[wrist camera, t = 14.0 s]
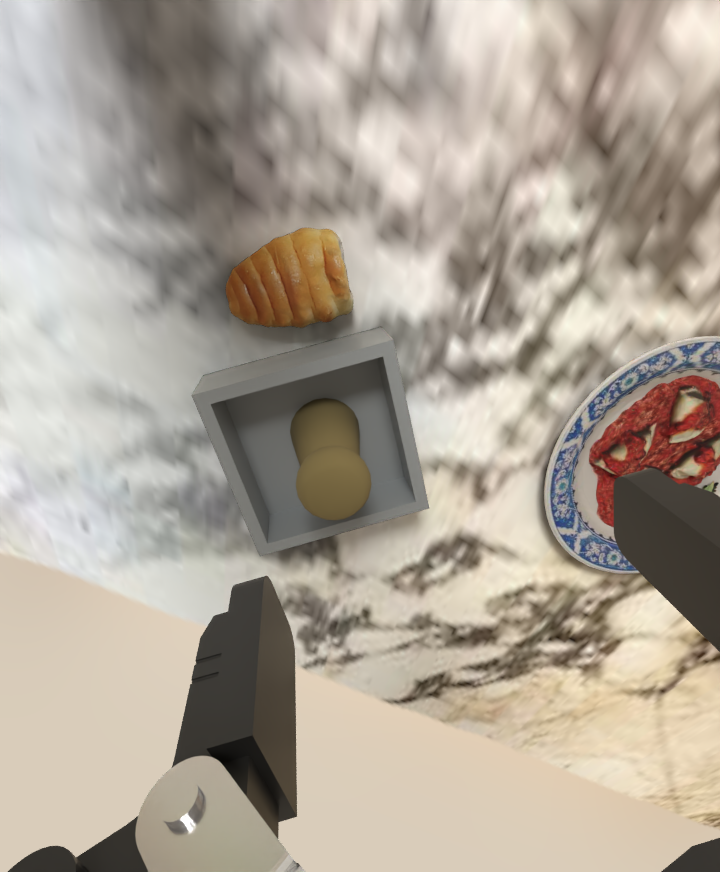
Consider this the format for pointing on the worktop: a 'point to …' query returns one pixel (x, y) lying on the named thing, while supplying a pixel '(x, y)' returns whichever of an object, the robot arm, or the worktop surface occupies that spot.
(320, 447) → the cork
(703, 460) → the ceramic plate
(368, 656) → the worktop surface
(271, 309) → the pastry
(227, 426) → the bin
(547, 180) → the worktop surface
